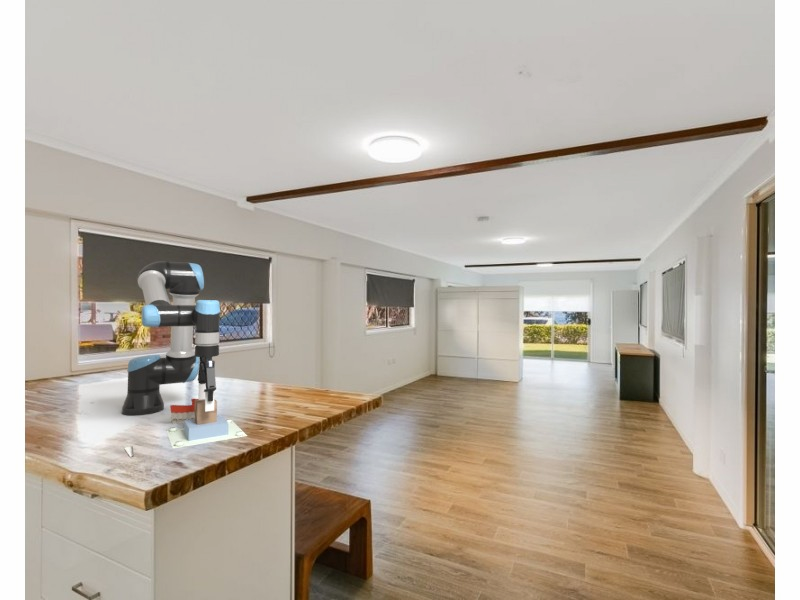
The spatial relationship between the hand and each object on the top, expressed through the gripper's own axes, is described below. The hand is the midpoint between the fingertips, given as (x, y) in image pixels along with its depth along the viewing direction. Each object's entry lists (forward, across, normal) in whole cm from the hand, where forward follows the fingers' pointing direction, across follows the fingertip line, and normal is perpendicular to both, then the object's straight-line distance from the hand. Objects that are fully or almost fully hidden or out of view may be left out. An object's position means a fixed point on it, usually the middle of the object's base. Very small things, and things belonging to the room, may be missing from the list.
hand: (206, 406), depth 139 cm
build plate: (+10, +1, 0) cm, 10 cm away
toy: (+11, -20, -1) cm, 22 cm away
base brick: (+9, 0, 0) cm, 9 cm away
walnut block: (+5, 0, 0) cm, 5 cm away
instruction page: (+10, +4, -19) cm, 22 cm away
